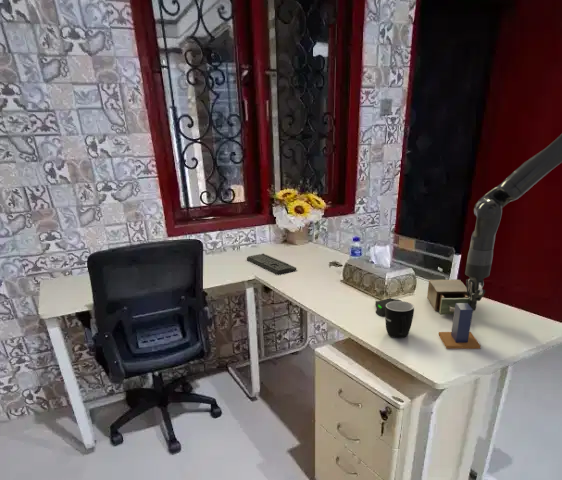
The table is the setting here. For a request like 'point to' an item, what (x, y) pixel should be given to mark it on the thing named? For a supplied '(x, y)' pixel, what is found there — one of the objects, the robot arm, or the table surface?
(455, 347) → the cork pad
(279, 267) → the keyboard
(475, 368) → the table surface
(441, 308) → the drawer
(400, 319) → the mug
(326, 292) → the table surface
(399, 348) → the table surface
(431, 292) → the cabinet
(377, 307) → the black electronic device
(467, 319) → the card box
